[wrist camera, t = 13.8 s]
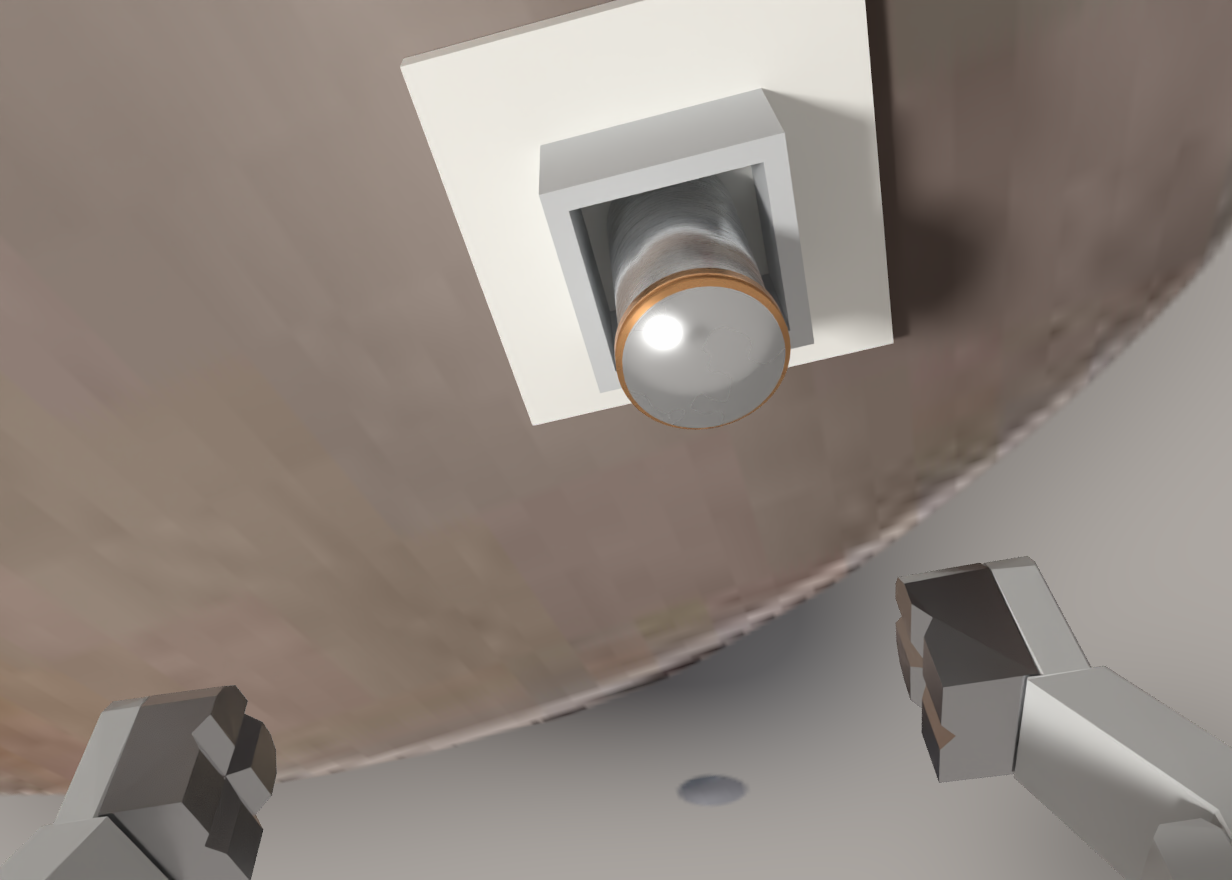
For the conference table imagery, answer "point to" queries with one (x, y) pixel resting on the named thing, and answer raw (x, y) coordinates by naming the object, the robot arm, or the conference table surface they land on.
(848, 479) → the conference table surface
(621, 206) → the copper rimmed tube
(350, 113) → the conference table surface
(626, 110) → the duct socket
